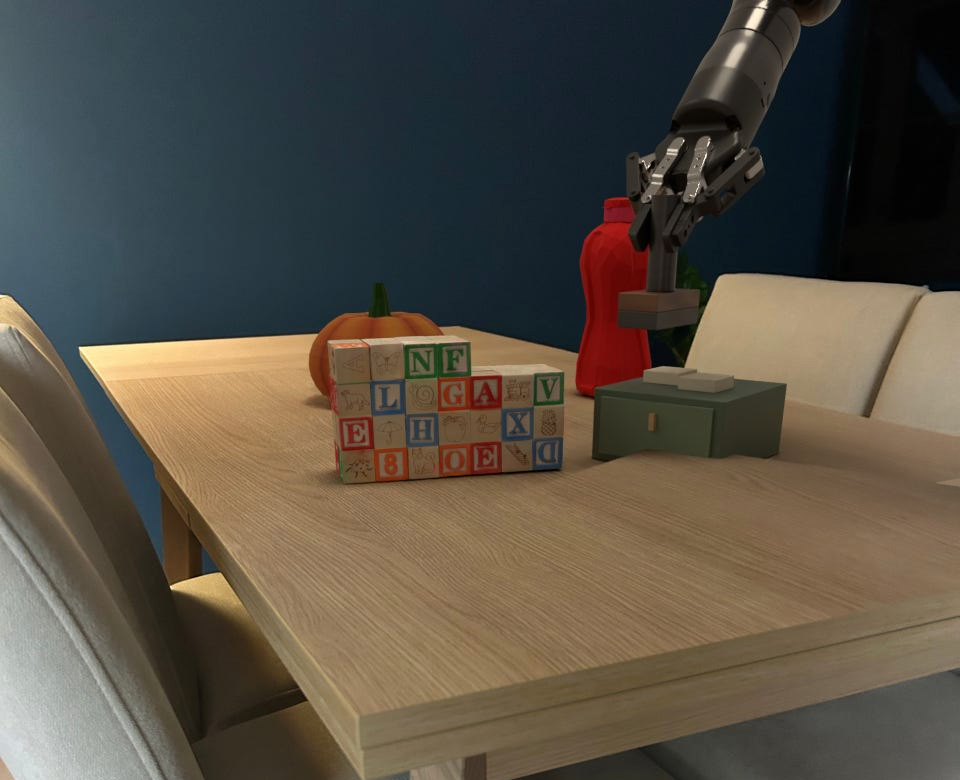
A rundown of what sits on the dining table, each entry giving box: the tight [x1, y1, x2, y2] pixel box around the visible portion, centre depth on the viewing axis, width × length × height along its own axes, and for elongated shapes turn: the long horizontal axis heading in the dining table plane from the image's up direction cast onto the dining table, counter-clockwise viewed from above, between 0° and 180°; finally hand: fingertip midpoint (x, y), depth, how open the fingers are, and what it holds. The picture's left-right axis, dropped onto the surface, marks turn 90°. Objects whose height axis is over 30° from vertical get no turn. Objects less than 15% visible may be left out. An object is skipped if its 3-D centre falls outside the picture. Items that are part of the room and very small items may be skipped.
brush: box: [617, 194, 701, 331], centre depth 88 cm, size 8×4×11 cm, turn 141°
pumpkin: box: [308, 282, 445, 398], centre depth 129 cm, size 19×19×15 cm
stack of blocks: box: [327, 334, 565, 485], centre depth 92 cm, size 21×6×12 cm, turn 104°
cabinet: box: [591, 377, 788, 462], centre depth 98 cm, size 14×15×7 cm
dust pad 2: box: [678, 371, 735, 393], centre depth 95 cm, size 4×4×1 cm
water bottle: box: [574, 197, 652, 398], centre depth 130 cm, size 9×11×25 cm
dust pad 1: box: [643, 365, 698, 386], centre depth 99 cm, size 4×4×1 cm
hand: (652, 245), depth 86 cm, fingers closed on brush, 2 cm apart
